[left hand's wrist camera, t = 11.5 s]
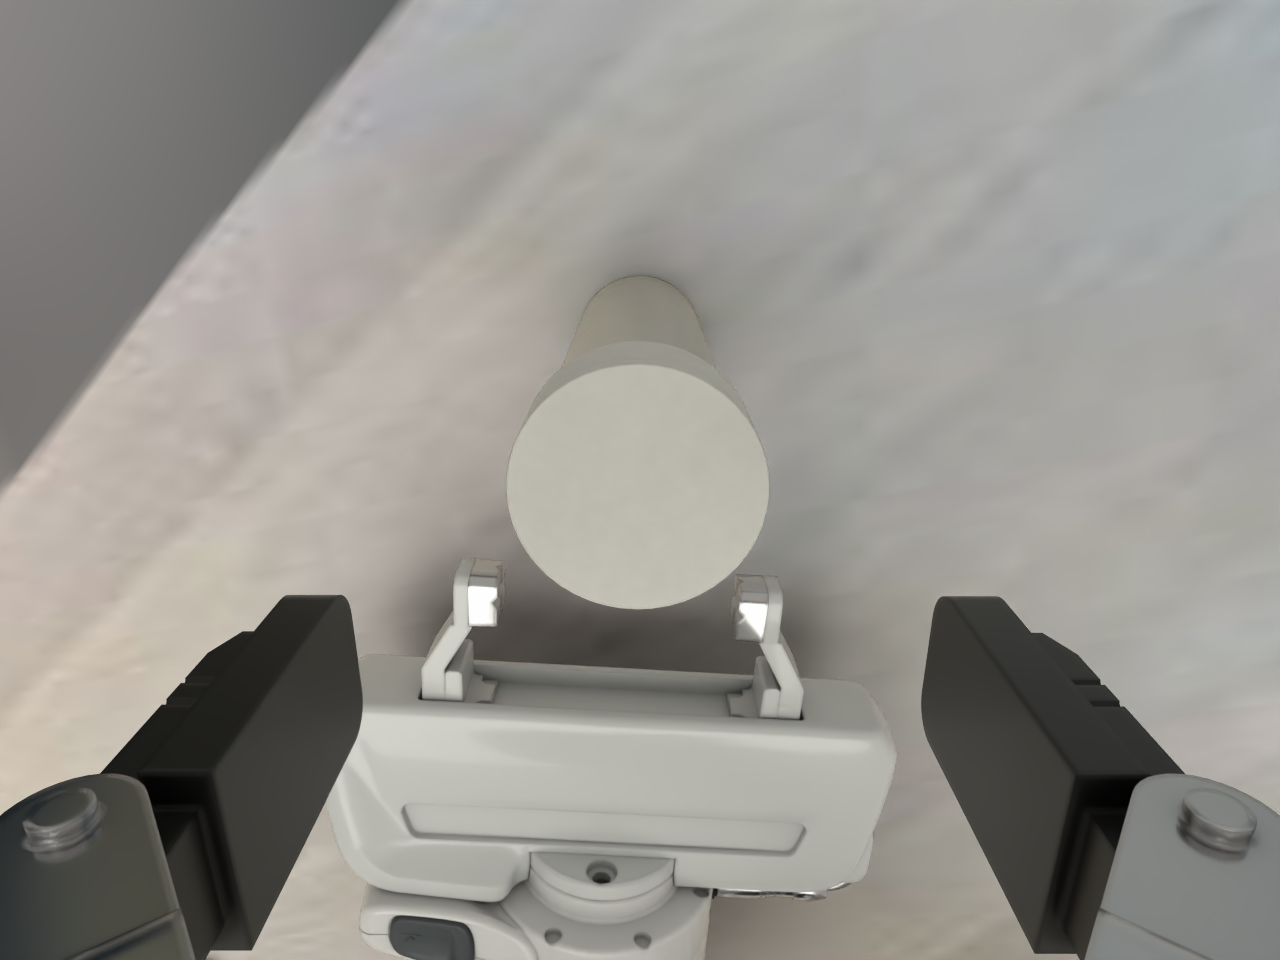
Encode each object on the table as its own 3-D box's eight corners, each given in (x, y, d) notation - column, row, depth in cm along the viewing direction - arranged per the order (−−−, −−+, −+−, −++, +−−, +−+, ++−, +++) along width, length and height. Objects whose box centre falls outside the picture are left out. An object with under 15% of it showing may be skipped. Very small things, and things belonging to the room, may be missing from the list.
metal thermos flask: (702, 276, 31) (758, 375, 16) (698, 396, 33) (745, 587, 18) (577, 275, 31) (518, 373, 16) (580, 395, 33) (528, 586, 18)
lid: (761, 340, 18) (778, 364, 16) (749, 562, 20) (761, 611, 17) (516, 338, 18) (498, 362, 16) (526, 560, 20) (511, 609, 17)
